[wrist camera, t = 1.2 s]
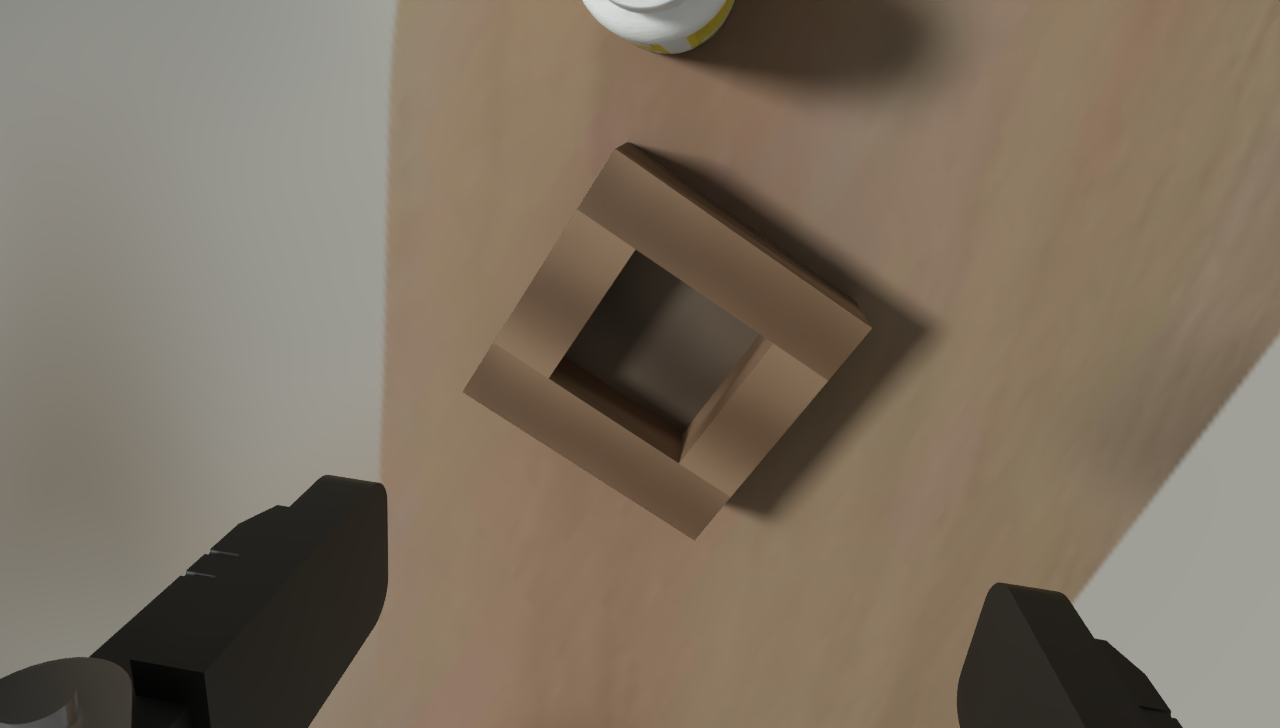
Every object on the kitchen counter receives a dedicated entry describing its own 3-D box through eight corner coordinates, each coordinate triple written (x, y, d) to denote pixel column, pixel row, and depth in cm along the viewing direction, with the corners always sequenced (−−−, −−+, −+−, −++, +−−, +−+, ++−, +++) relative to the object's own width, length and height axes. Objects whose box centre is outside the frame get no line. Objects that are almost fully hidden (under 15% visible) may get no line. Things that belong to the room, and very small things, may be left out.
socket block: (627, 142, 32) (615, 148, 28) (855, 301, 33) (872, 328, 29) (489, 360, 36) (462, 392, 32) (697, 495, 37) (694, 540, 33)
